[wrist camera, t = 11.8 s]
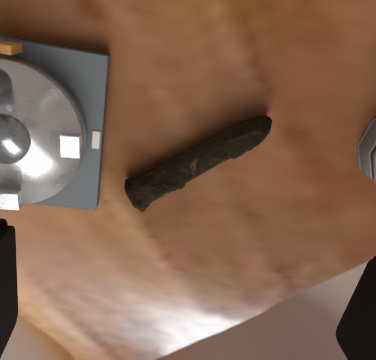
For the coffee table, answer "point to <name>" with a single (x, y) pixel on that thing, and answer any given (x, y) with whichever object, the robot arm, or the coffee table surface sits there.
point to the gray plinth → (89, 101)
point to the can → (368, 151)
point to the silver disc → (36, 133)
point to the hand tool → (197, 161)
